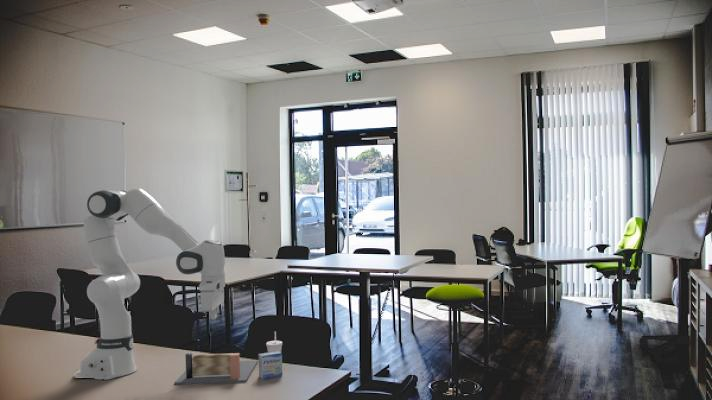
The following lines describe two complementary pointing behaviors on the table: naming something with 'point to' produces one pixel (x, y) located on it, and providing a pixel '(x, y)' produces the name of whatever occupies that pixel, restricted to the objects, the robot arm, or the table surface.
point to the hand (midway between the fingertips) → (213, 318)
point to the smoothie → (274, 345)
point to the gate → (211, 364)
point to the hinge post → (189, 366)
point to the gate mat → (220, 376)
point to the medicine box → (270, 364)
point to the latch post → (234, 366)
